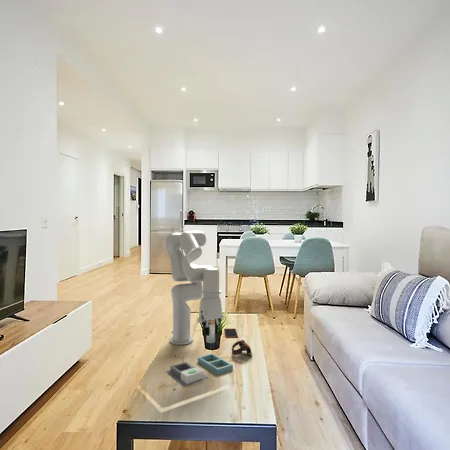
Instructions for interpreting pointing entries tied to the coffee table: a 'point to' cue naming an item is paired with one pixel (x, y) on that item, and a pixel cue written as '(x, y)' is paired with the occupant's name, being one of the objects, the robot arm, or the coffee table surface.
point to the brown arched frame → (241, 348)
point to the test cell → (211, 331)
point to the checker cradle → (186, 373)
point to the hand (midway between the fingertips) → (210, 333)
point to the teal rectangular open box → (215, 364)
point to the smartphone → (230, 333)
